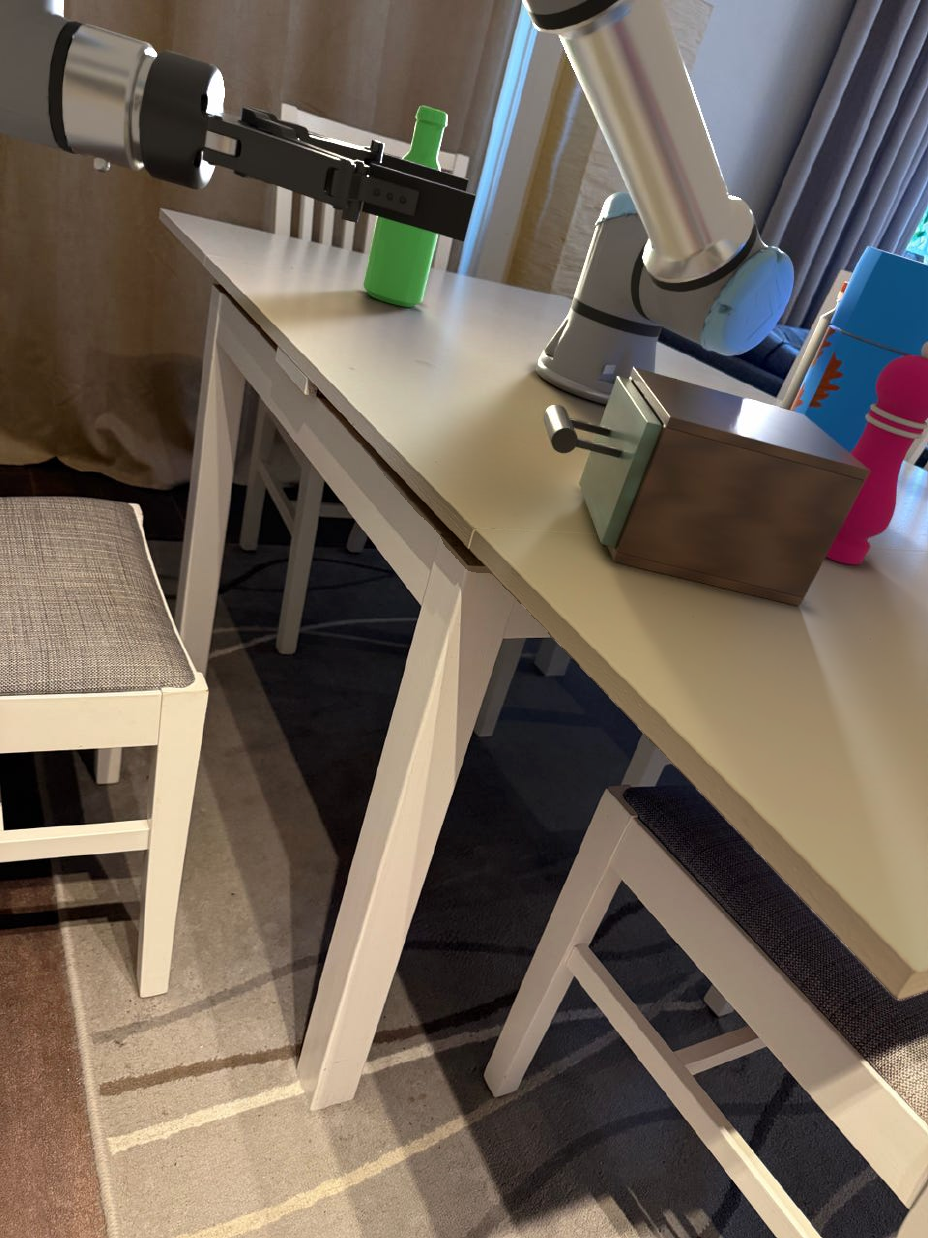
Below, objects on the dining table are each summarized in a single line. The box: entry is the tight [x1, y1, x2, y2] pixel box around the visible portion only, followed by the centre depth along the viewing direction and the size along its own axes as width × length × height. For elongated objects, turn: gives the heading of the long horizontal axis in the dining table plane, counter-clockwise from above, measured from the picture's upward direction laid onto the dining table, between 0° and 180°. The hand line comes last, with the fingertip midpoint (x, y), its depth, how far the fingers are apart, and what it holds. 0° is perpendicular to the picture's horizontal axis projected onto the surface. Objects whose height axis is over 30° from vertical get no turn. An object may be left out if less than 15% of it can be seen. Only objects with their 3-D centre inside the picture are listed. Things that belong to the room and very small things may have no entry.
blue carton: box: [790, 245, 928, 453], centre depth 94 cm, size 11×11×25 cm
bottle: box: [363, 105, 448, 308], centre depth 124 cm, size 9×9×25 cm
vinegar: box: [779, 281, 849, 410], centre depth 125 cm, size 7×7×20 cm
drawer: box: [542, 376, 664, 547], centre depth 71 cm, size 20×12×10 cm, turn 91°
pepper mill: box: [825, 342, 928, 566], centre depth 80 cm, size 7×7×20 cm
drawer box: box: [606, 367, 870, 607], centre depth 72 cm, size 16×14×12 cm
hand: (467, 207), depth 61 cm, fingers open, 13 cm apart
